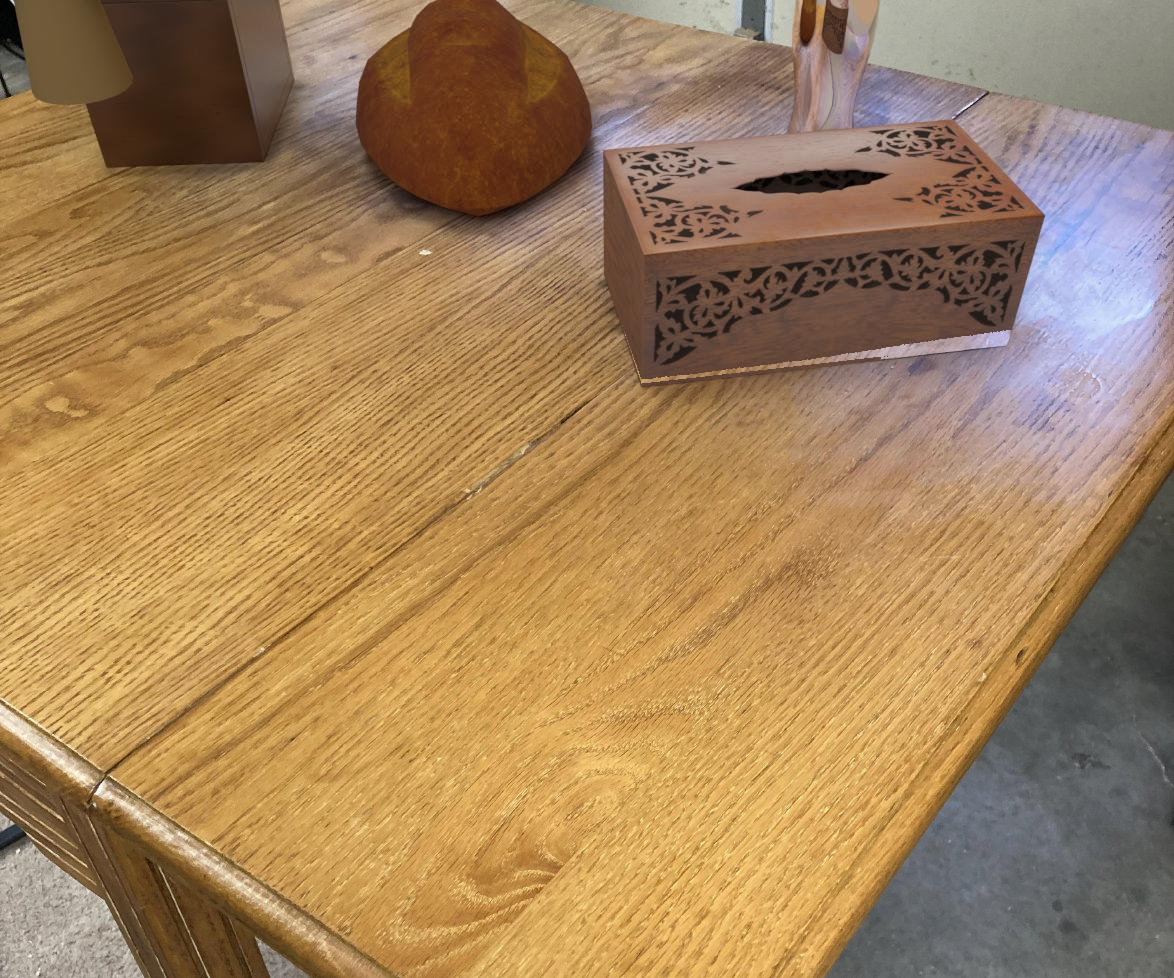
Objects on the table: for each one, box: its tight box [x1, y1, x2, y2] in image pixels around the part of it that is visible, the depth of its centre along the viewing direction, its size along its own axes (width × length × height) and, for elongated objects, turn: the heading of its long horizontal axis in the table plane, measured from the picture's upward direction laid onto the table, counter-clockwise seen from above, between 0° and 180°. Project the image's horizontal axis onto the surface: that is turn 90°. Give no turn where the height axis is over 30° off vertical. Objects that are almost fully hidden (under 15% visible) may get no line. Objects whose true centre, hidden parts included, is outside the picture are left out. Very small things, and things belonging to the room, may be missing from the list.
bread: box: [355, 0, 593, 217], centre depth 98 cm, size 21×33×12 cm, turn 2°
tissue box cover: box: [602, 118, 1046, 388], centre depth 78 cm, size 26×14×10 cm, turn 99°
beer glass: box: [785, 0, 881, 134], centre depth 96 cm, size 7×7×15 cm
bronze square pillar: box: [85, 0, 295, 168], centre depth 101 cm, size 14×18×16 cm
